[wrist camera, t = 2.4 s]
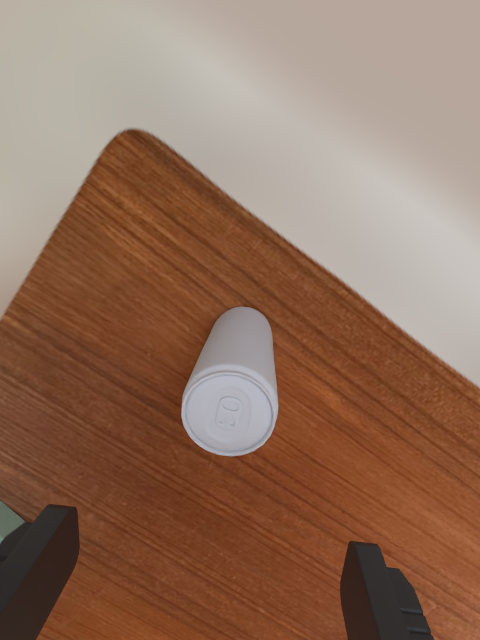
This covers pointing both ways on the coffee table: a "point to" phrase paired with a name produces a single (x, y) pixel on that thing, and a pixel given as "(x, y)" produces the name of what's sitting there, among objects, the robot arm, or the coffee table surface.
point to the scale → (8, 521)
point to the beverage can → (233, 386)
